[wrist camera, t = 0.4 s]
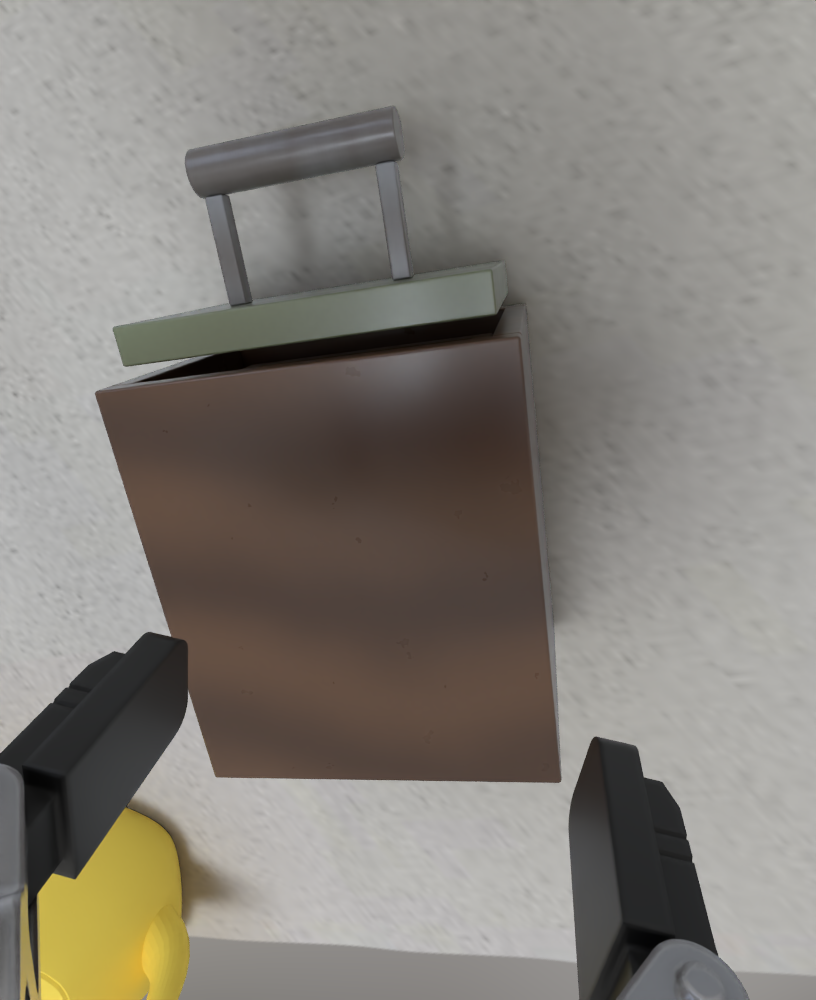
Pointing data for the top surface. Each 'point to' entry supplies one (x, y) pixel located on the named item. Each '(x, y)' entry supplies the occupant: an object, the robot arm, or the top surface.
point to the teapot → (116, 920)
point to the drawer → (322, 309)
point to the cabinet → (353, 552)
